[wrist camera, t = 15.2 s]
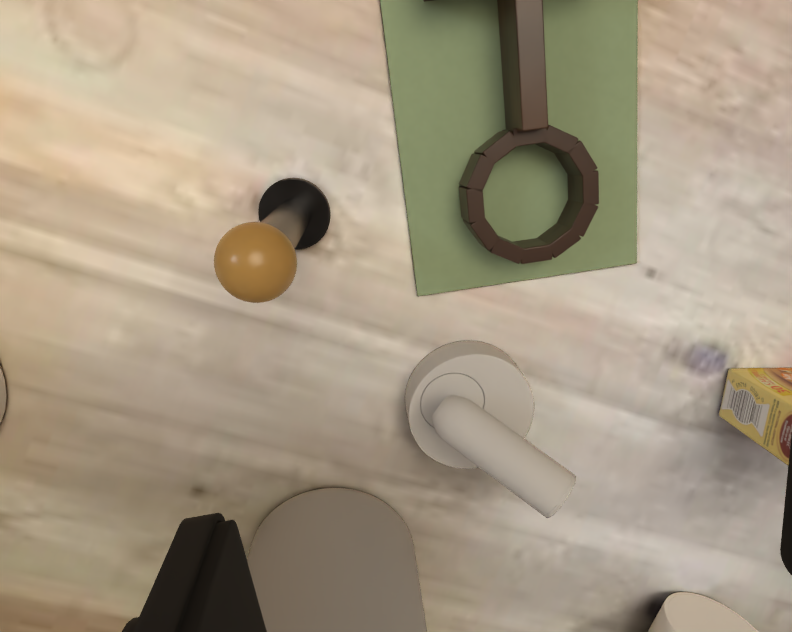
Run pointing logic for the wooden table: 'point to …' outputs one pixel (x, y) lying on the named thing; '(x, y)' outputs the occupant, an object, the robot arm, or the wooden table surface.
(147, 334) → the wooden table surface
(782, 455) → the candy box
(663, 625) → the mug
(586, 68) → the felt mat
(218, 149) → the wooden table surface
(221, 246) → the peg stand
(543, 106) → the hanger
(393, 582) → the cylinder vase
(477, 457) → the wall hook
